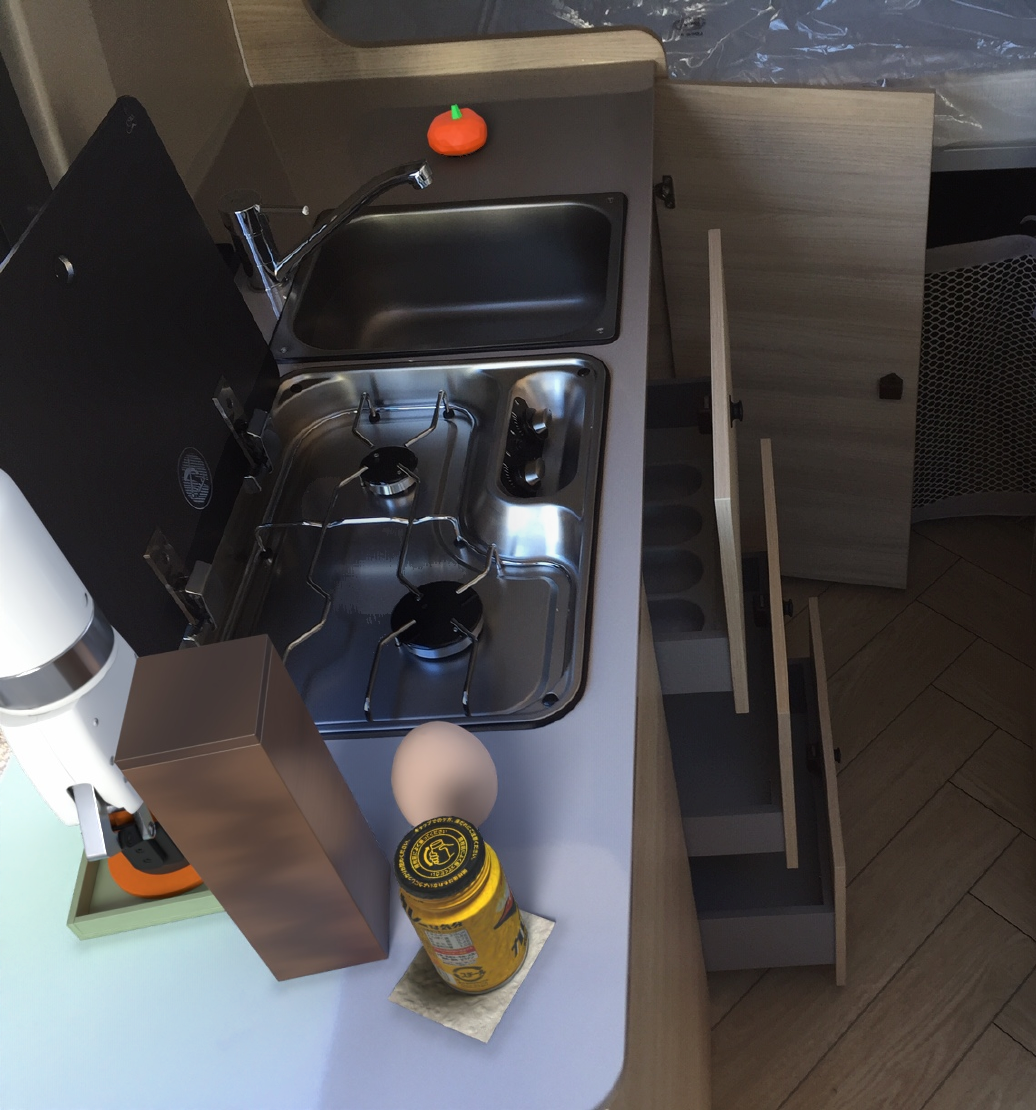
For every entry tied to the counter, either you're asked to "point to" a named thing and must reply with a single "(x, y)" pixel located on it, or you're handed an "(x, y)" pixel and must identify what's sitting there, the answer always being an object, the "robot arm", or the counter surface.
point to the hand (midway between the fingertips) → (168, 818)
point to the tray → (127, 904)
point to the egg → (443, 775)
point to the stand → (257, 804)
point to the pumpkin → (457, 132)
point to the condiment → (462, 928)
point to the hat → (151, 873)
